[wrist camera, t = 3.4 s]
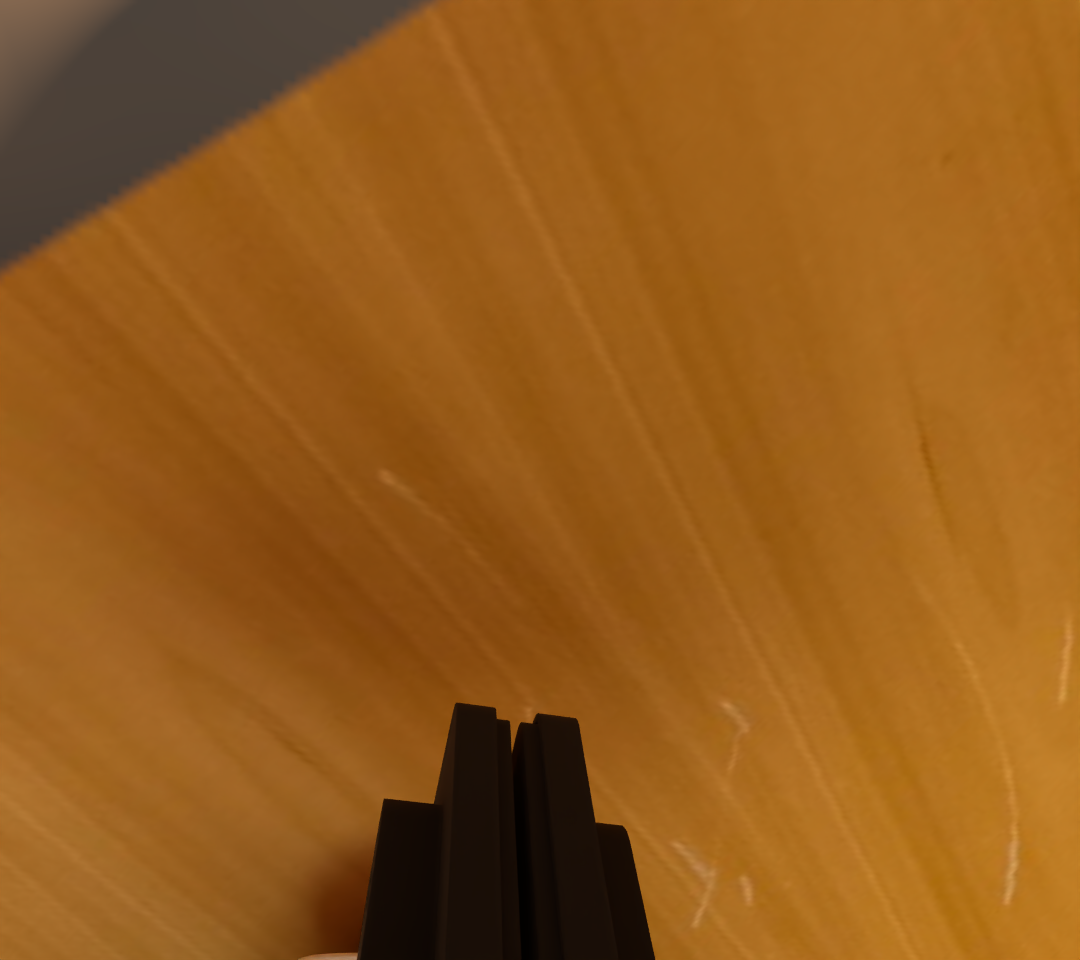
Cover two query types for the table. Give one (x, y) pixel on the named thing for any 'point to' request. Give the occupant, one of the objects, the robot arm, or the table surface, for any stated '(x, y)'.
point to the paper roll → (331, 956)
